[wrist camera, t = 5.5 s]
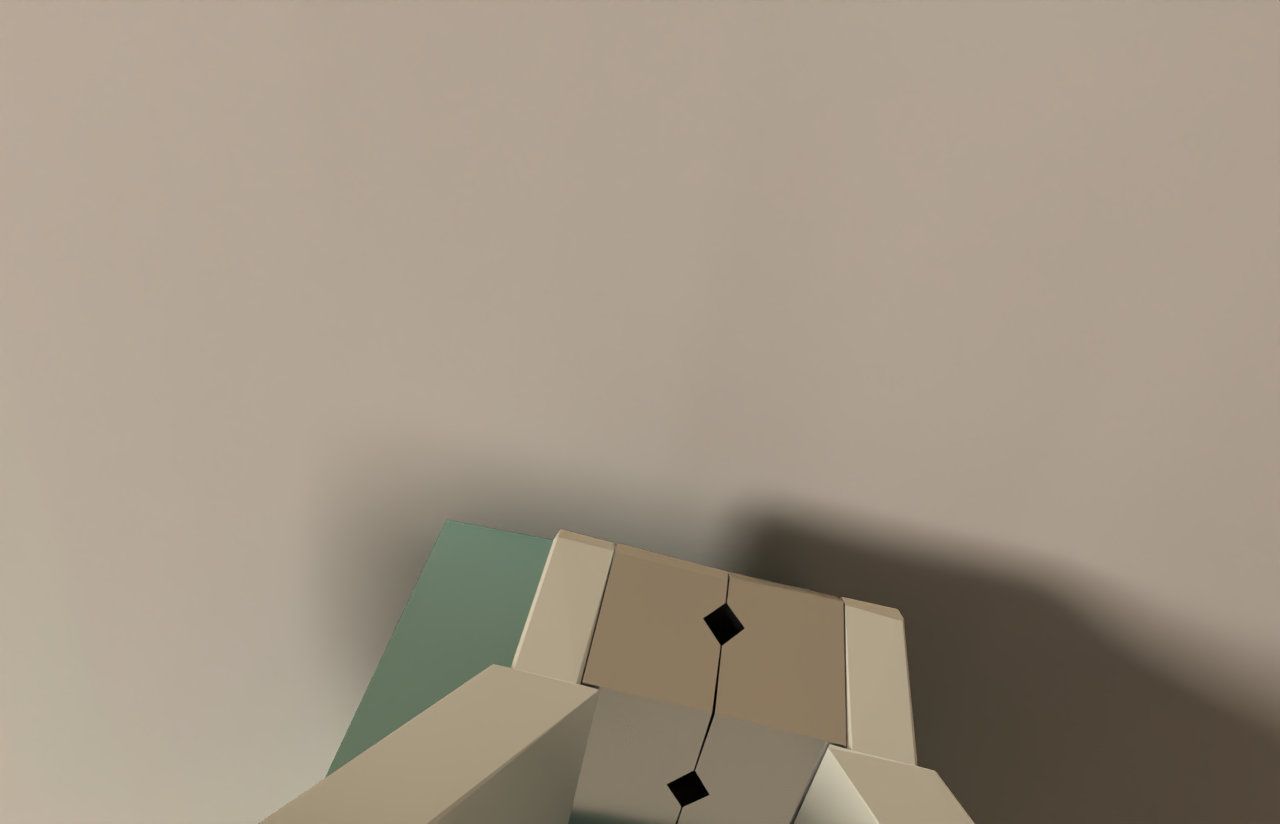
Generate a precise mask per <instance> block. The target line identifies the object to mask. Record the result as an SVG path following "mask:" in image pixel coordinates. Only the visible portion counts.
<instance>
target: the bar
mask: <svg viewBox="0 0 1280 824" xmlns="http://www.w3.org/2000/svg"><path fill="white" fill-rule="evenodd" d="M552 543H553V540H550V539H545V538H540V537H534V536H529V535H524V534H519V533H514V532H508V531H503V530H498V529H493V528H488V527H482V526H477V525H472V524H467V523H461V522H456V521H451V520H446V522H445V524H444V527H443V529H442V531H441V533H440V535H439V537H438V539H437V541H436V543H435V546H434V548H433V550H432V552H431V554H430V556H429V558H428V560H427V563H426V565H425V567H424V569H423V571H422V573H421V575H420V577H419V580H418V582H417V584H416V586H415V588H414V590H413V592H412V594H411V597H410V599H409V601H408V603H407V605H406V607H405V609H404V611H403V614H402V616H401V618H400V620H399V622H398V624H397V626H396V628H395V631H394V633H393V635H392V637H391V639H390V641H389V643H388V645H387V648H386V650H385V652H384V654H383V656H382V658H381V660H380V662H379V665H378V667H377V669H376V671H375V673H374V675H373V677H372V679H371V682H370V684H369V686H368V688H367V690H366V692H365V694H364V696H363V699H362V701H361V703H360V705H359V707H358V709H357V711H356V713H355V715H354V718H353V720H352V722H351V724H350V726H349V728H348V730H347V732H346V735H345V737H344V739H343V741H342V743H341V745H340V747H339V749H338V752H337V754H336V756H335V758H334V760H333V762H332V764H331V766H330V769H329V771H328V773H327V775H326V777H328V776H329V775H331V774H332V773H334V772H335V771H336V770H338V769H339V768H341V767H342V766H344V765H345V764H347V763H348V762H350V761H351V760H353V759H354V758H356V757H357V756H359V755H360V754H361V753H363V752H364V751H366V750H367V749H369V748H370V747H372V746H373V745H375V744H376V743H378V742H379V741H381V740H382V739H384V738H385V737H386V736H388V735H389V734H391V733H392V732H394V731H395V730H397V729H398V728H400V727H401V726H403V725H404V724H406V723H407V722H409V721H410V720H411V719H413V718H414V717H416V716H417V715H419V714H420V713H422V712H423V711H425V710H426V709H428V708H429V707H431V706H432V705H434V704H435V703H436V702H438V701H439V700H441V699H442V698H444V697H445V696H447V695H448V694H450V693H451V692H453V691H454V690H456V689H457V688H459V687H460V686H461V685H463V684H464V683H466V682H467V681H469V680H470V679H472V678H473V677H475V676H476V675H478V674H479V673H481V672H482V671H484V670H485V669H487V668H488V667H489V666H491V665H492V664H496V665H500V666H505V667H509V668H511V665H512V662H513V659H514V656H515V653H516V650H517V647H518V644H519V641H520V638H521V635H522V632H523V629H524V626H525V623H526V620H527V617H528V614H529V612H530V609H531V606H532V603H533V600H534V597H535V594H536V591H537V588H538V585H539V582H540V579H541V576H542V573H543V570H544V567H545V564H546V561H547V558H548V555H549V552H550V549H551V546H552ZM614 554H615V552H614ZM613 558H614V556H613ZM612 562H613V560H612ZM611 566H612V565H611ZM789 586H790V585H789ZM793 587H795V586H793ZM798 588H800V587H798ZM802 589H806V588H802ZM806 590H811V589H806ZM811 591H813V590H811ZM326 777H325V778H326Z"/></svg>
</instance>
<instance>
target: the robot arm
mask: <svg viewBox="0 0 1280 824" xmlns="http://www.w3.org/2000/svg"><path fill="white" fill-rule="evenodd" d="M615 545H616V544H614V543H612V542H608V541H604V540H601V539H597V538H593V537H589V536H586V535H582V534H578V533H574V532H570V531H567V530H563V529H560V531H559V532H558V534H557V535H556V537H555V538H554V540H553V543H552V546H551V549H550V552H549V555H548V558H547V561H546V564H545V567H544V570H543V573H542V576H541V579H540V582H539V585H538V588H537V591H536V594H535V597H534V600H533V603H532V606H531V609H530V612H529V614H528V617H527V620H526V623H525V626H524V629H523V632H522V635H521V638H520V641H519V644H518V647H517V650H516V653H515V656H514V659H513V662H512V665H511V668H509V667H505V666H500V665H496V664H492V665H491V666H489V667H488V668H487V669H485V670H484V671H482V672H481V673H479V674H478V675H476V676H475V677H473V678H472V679H470V680H469V681H467V682H466V683H464V684H463V685H461V686H460V687H459V688H457V689H456V690H454V691H453V692H451V693H450V694H448V695H447V696H445V697H444V698H442V699H441V700H439V701H438V702H436V703H435V704H434V705H432V706H431V707H429V708H428V709H426V710H425V711H423V712H422V713H420V714H419V715H417V716H416V717H414V718H413V719H411V720H410V721H409V722H407V723H406V724H404V725H403V726H401V727H400V728H398V729H397V730H395V731H394V732H392V733H391V734H389V735H388V736H386V737H385V738H384V739H382V740H381V741H379V742H378V743H376V744H375V745H373V746H372V747H370V748H369V749H367V750H366V751H364V752H363V753H361V754H360V755H359V756H357V757H356V758H354V759H353V760H351V761H350V762H348V763H347V764H345V765H344V766H342V767H341V768H339V769H338V770H336V771H335V772H334V773H332V774H331V775H329V776H328V777H326V778H325V779H323V780H322V781H320V782H319V783H317V784H316V785H314V786H313V787H311V788H310V789H309V790H307V791H306V792H304V793H303V794H301V795H300V796H298V797H297V798H295V799H294V800H292V801H291V802H289V803H288V804H286V805H285V806H284V807H282V808H281V809H279V810H278V811H276V812H275V813H273V814H272V815H270V816H269V817H267V818H266V819H264V820H263V821H261V822H260V823H259V824H975V823H974V822H973V820H972V819H971V818H970V816H969V815H968V814H967V812H966V811H965V810H964V808H963V807H962V806H961V804H960V803H959V802H958V800H957V799H956V797H955V796H954V795H953V793H952V792H951V791H950V789H949V788H948V787H947V785H946V784H945V783H944V781H943V780H942V779H941V777H940V776H939V775H938V773H937V772H936V771H934V770H931V769H927V768H923V767H919V766H918V765H917V754H916V743H915V733H914V722H913V712H912V701H911V690H910V680H909V669H908V659H907V648H906V637H905V627H904V618H903V617H902V615H901V613H900V612H899V610H898V609H895V608H891V607H886V606H882V605H877V604H872V603H868V602H863V601H859V600H854V599H850V598H845V597H841V598H838V597H837V596H833V595H828V594H824V593H819V592H815V591H811V590H806V589H802V588H798V587H793V586H789V585H785V584H780V583H776V582H772V581H767V580H763V579H759V578H754V577H750V576H746V575H741V574H737V573H733V572H727V571H723V570H720V569H716V568H712V567H708V566H704V565H701V564H697V563H693V562H689V561H685V560H682V559H678V558H674V557H670V556H666V555H662V554H659V553H655V552H651V551H647V550H643V549H640V548H636V547H632V546H628V545H624V544H621V543H617V547H616V550H615ZM614 551H615V554H614ZM613 556H614V558H613ZM612 560H613V562H612ZM611 565H612V566H611Z"/></svg>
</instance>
